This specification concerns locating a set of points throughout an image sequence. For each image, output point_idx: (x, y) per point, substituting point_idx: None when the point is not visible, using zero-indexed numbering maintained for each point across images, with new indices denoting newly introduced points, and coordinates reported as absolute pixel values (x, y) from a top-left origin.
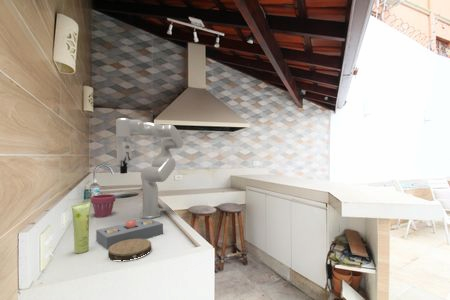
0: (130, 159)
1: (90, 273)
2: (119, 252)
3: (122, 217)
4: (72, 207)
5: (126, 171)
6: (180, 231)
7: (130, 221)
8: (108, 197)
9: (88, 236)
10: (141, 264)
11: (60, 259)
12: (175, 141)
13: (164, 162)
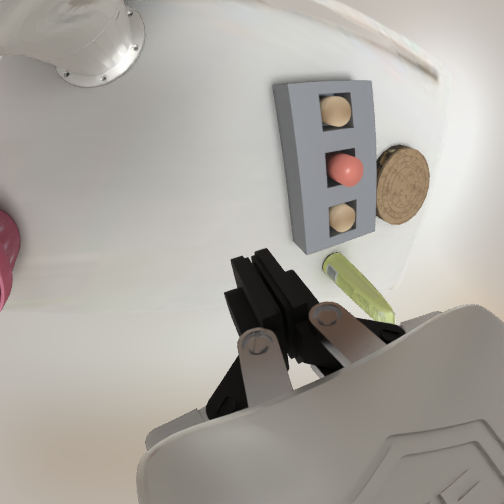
0: (444, 327)
1: (410, 242)
2: (414, 209)
3: (51, 161)
4: None
5: (273, 263)
6: (359, 37)
7: (350, 173)
8: None
9: (353, 267)
10: (433, 180)
11: None
12: None
13: None
